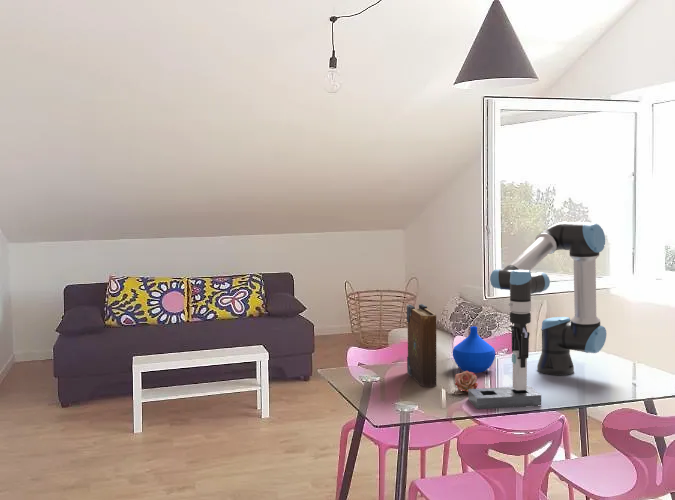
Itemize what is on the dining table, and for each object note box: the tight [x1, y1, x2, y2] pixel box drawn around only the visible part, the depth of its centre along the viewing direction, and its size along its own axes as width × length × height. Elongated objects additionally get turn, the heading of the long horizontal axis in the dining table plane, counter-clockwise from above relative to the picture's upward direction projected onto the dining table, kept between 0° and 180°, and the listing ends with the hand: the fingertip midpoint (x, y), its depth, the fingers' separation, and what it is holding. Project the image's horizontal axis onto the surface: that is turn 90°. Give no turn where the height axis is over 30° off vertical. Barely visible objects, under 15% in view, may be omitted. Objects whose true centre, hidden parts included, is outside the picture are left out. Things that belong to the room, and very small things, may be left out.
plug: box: [511, 351, 528, 390], centre depth 277 cm, size 5×4×14 cm
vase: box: [452, 325, 496, 374], centre depth 325 cm, size 18×18×19 cm
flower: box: [454, 371, 479, 393], centre depth 293 cm, size 10×9×8 cm
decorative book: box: [406, 303, 437, 388], centre depth 311 cm, size 23×7×30 cm, turn 10°
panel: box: [467, 385, 542, 410], centre depth 278 cm, size 24×12×4 cm, turn 95°
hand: (519, 373), depth 277 cm, fingers closed on plug, 4 cm apart
